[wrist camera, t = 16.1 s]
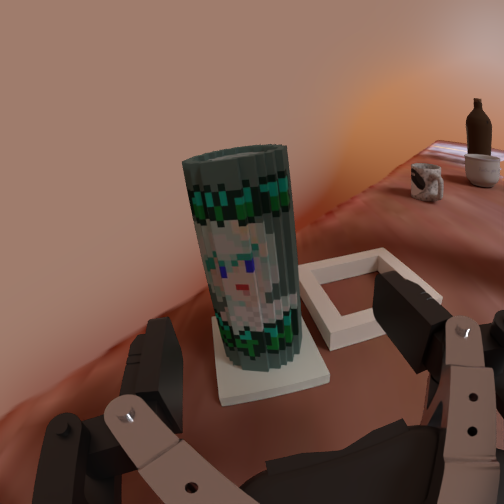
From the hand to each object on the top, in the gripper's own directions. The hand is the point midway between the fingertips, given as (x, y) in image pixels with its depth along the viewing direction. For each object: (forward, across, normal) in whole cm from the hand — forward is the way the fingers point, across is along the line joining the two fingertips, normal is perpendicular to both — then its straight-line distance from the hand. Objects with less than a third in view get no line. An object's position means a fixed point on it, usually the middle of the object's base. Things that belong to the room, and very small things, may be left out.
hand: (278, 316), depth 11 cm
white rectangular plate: (+10, 0, +11) cm, 15 cm away
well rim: (+14, -11, +11) cm, 21 cm away
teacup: (+44, -68, +11) cm, 82 cm away
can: (+10, 0, +10) cm, 14 cm away
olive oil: (+66, -92, +11) cm, 114 cm away
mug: (+39, -41, +11) cm, 58 cm away
